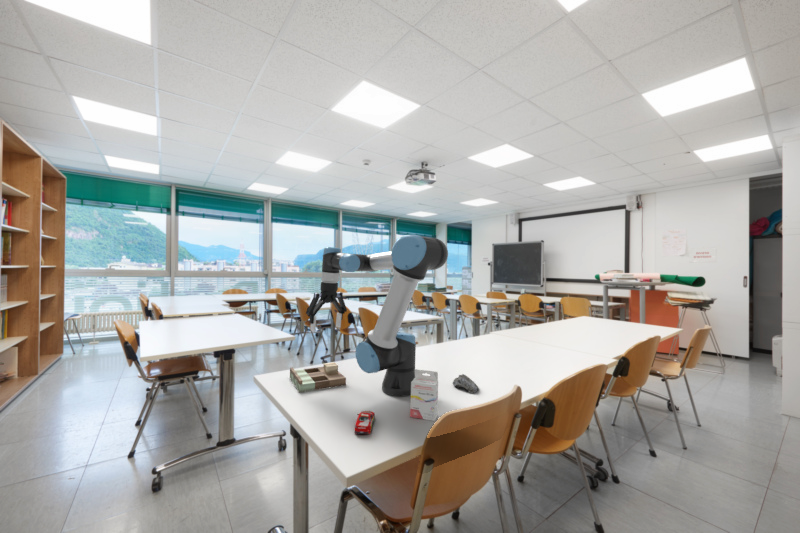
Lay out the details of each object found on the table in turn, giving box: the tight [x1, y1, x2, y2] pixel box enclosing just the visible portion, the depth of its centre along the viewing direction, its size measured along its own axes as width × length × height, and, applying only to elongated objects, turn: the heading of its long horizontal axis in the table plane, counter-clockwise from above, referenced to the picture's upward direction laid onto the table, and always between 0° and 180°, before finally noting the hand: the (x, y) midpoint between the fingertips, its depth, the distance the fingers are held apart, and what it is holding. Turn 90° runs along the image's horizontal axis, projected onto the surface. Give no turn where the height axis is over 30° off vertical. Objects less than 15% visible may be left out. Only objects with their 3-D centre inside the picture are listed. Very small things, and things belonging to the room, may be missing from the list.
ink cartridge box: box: [409, 368, 439, 422], centre depth 109 cm, size 9×5×15 cm, turn 73°
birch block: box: [323, 362, 339, 375], centre depth 145 cm, size 5×5×4 cm
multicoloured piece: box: [289, 366, 347, 393], centre depth 142 cm, size 20×19×4 cm
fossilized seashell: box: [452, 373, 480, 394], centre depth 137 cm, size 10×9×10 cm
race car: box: [354, 410, 376, 435], centre depth 102 cm, size 13×5×4 cm, turn 177°
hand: (325, 329), depth 147 cm, fingers open, 13 cm apart
